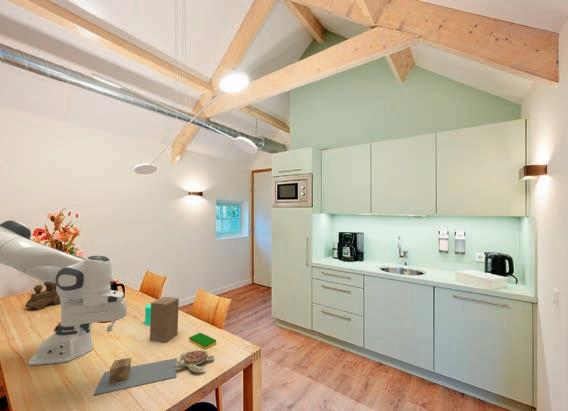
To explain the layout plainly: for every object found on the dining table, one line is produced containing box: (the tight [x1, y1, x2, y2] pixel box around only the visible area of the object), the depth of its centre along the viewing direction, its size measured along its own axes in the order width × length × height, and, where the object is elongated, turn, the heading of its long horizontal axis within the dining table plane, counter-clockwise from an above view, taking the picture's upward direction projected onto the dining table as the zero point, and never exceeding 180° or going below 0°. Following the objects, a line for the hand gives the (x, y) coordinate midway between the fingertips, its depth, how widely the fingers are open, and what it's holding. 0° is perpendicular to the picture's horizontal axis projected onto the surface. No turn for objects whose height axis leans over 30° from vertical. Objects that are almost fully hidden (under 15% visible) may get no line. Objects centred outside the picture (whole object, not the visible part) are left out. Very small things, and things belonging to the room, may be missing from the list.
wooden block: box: [149, 296, 180, 344], centre depth 133 cm, size 10×10×20 cm
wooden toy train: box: [24, 281, 61, 311], centre depth 175 cm, size 20×11×17 cm, turn 161°
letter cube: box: [109, 357, 132, 385], centre depth 99 cm, size 6×6×6 cm
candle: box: [144, 304, 151, 326], centre depth 150 cm, size 6×6×12 cm
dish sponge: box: [188, 332, 217, 351], centre depth 128 cm, size 7×14×2 cm, turn 55°
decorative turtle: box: [175, 350, 215, 373], centre depth 109 cm, size 18×17×5 cm
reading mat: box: [93, 357, 178, 397], centre depth 101 cm, size 28×14×1 cm, turn 113°
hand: (95, 332), depth 96 cm, fingers open, 8 cm apart
